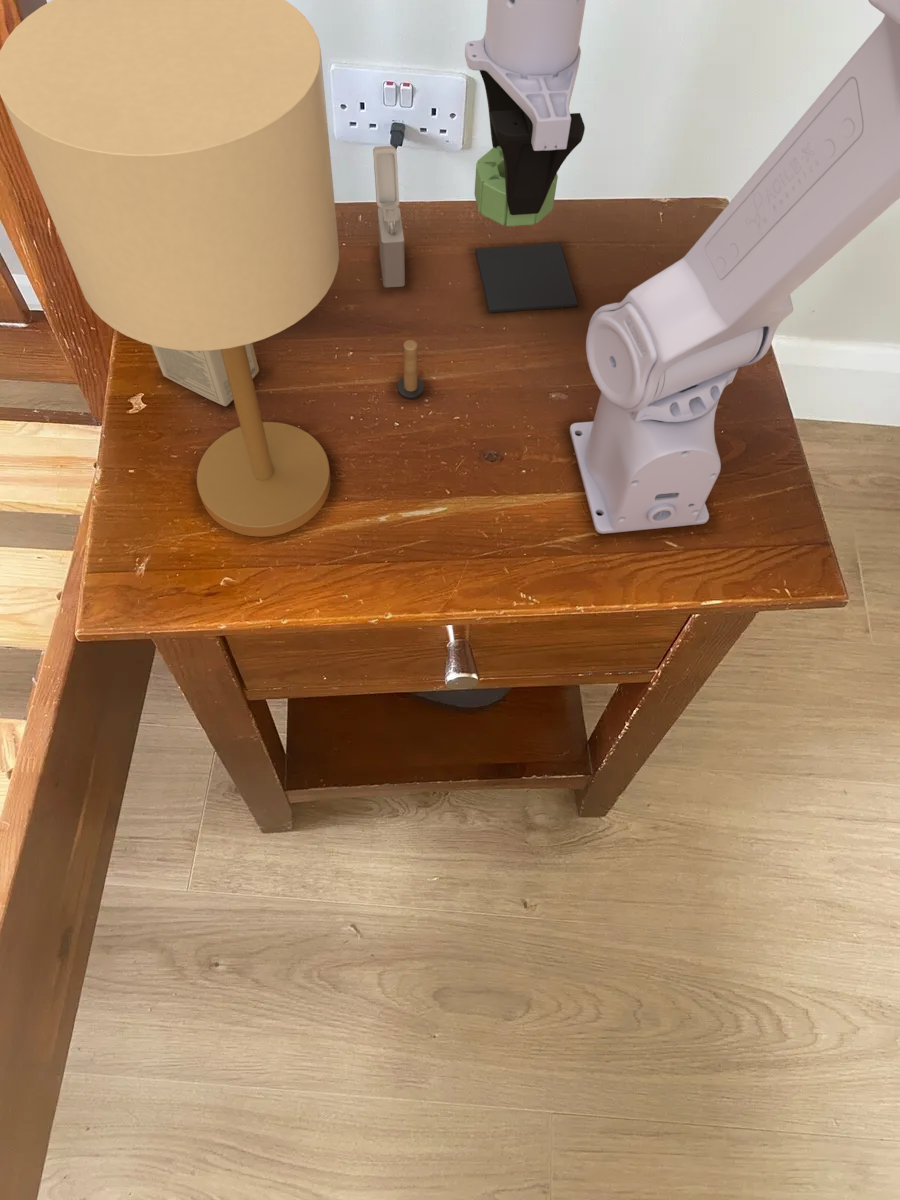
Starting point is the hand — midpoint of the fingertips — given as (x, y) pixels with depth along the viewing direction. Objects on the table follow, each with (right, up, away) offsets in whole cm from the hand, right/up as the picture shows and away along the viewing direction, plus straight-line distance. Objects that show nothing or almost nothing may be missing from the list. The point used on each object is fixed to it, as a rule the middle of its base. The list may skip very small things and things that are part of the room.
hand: (516, 182), depth 62 cm
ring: (0, -1, +1) cm, 1 cm away
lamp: (-17, -21, -1) cm, 27 cm away
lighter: (-10, -1, +11) cm, 15 cm away
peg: (-8, -14, +4) cm, 16 cm away
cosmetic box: (-23, -13, +4) cm, 26 cm away
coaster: (+2, -3, +10) cm, 11 cm away
